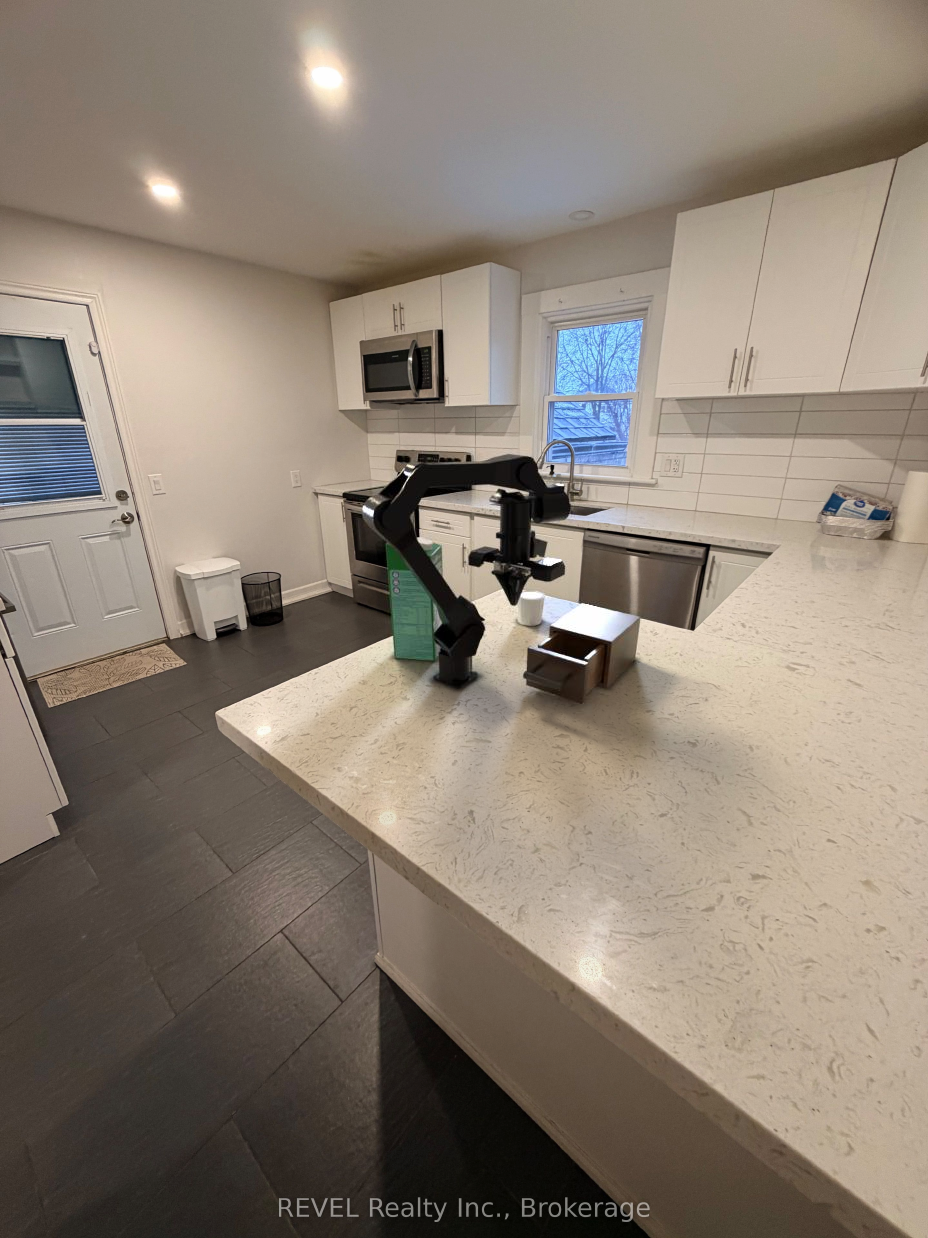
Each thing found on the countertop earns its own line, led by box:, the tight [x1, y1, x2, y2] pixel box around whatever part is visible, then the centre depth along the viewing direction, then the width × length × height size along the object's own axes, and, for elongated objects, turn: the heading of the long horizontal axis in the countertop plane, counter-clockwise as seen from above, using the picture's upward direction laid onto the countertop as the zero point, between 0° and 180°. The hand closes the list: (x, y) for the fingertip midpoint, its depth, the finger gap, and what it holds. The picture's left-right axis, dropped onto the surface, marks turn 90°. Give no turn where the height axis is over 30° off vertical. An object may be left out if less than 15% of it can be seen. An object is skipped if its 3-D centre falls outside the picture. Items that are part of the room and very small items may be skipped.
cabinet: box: [548, 603, 642, 689], centre depth 99 cm, size 15×13×10 cm
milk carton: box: [385, 537, 444, 662], centre depth 104 cm, size 9×9×25 cm
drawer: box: [522, 631, 607, 705], centre depth 90 cm, size 18×11×8 cm, turn 142°
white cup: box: [516, 590, 546, 627], centre depth 121 cm, size 7×7×7 cm
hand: (513, 605), depth 97 cm, fingers closed
